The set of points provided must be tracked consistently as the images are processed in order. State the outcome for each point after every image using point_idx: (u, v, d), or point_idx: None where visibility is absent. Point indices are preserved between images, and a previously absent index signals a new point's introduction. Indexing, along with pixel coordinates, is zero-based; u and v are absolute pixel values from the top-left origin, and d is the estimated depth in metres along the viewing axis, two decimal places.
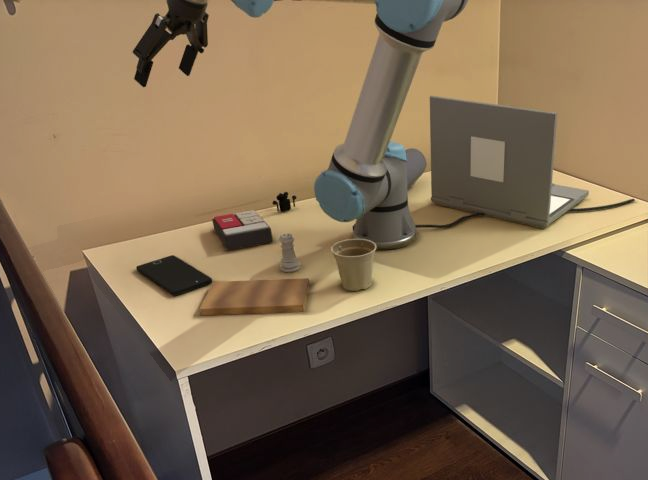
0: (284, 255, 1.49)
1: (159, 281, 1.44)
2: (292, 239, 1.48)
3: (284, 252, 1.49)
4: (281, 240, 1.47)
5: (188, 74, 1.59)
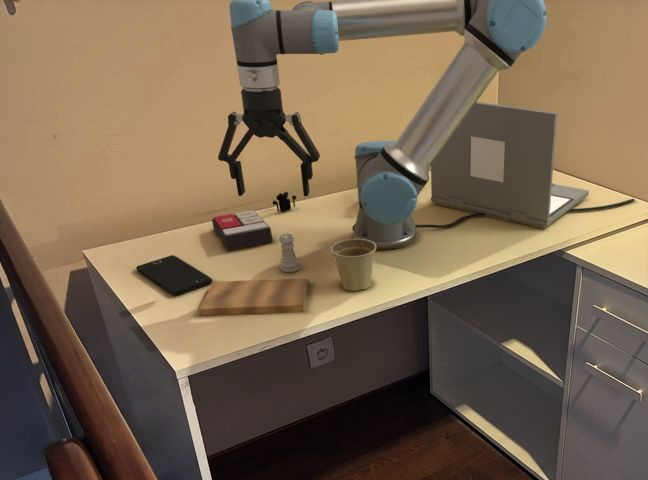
0: (284, 255, 1.49)
1: (159, 281, 1.44)
2: (292, 239, 1.48)
3: (284, 252, 1.49)
4: (281, 240, 1.47)
5: None
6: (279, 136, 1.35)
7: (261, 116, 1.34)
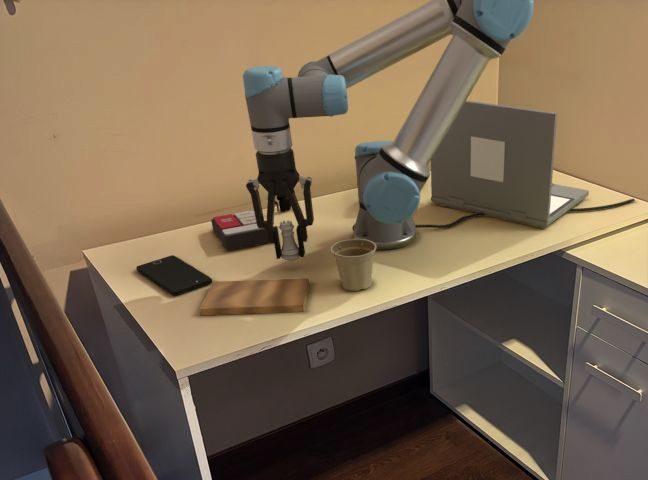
0: (284, 243, 1.48)
1: (159, 281, 1.44)
2: (292, 226, 1.46)
3: (284, 239, 1.47)
4: (281, 227, 1.46)
5: None
6: (288, 196, 1.41)
7: (276, 176, 1.40)
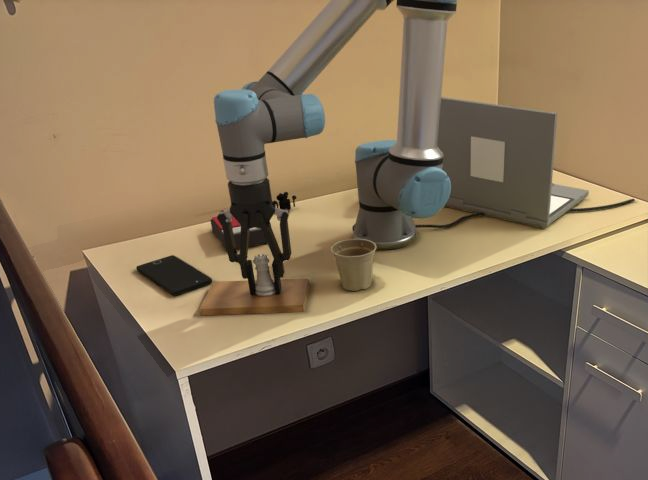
0: (258, 278, 1.36)
1: (159, 281, 1.44)
2: (267, 260, 1.35)
3: (259, 274, 1.36)
4: (255, 261, 1.34)
5: None
6: (263, 229, 1.30)
7: (250, 208, 1.28)
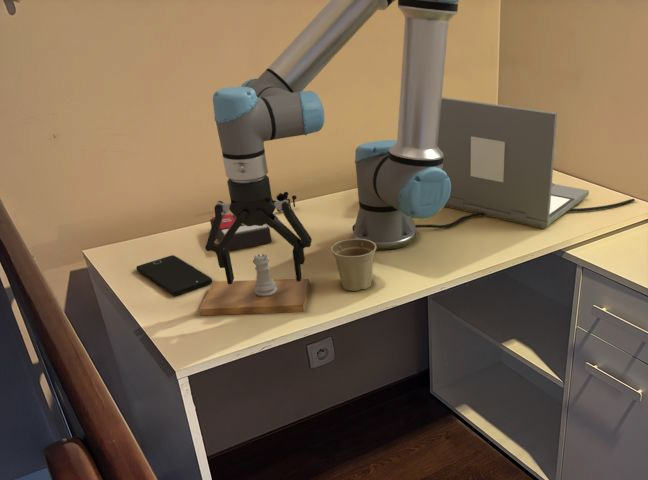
0: (258, 278, 1.36)
1: (159, 281, 1.44)
2: (267, 260, 1.35)
3: (258, 274, 1.36)
4: (255, 261, 1.34)
5: None
6: (269, 224, 1.30)
7: (249, 205, 1.28)
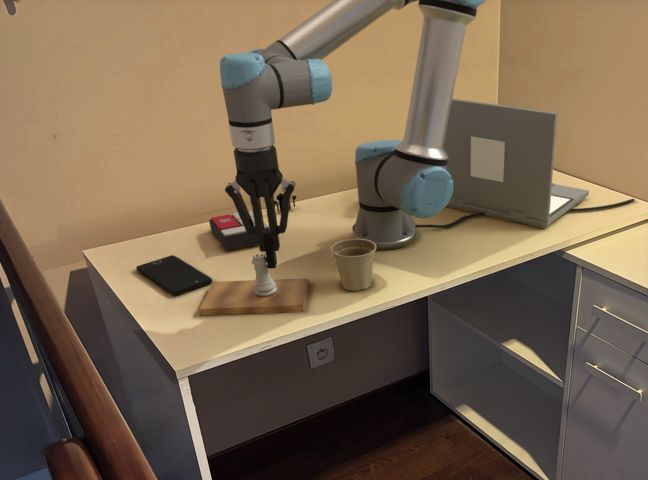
0: (258, 278, 1.36)
1: (159, 281, 1.44)
2: (266, 260, 1.35)
3: (258, 274, 1.36)
4: (253, 261, 1.34)
5: None
6: (266, 199, 1.27)
7: (256, 176, 1.25)
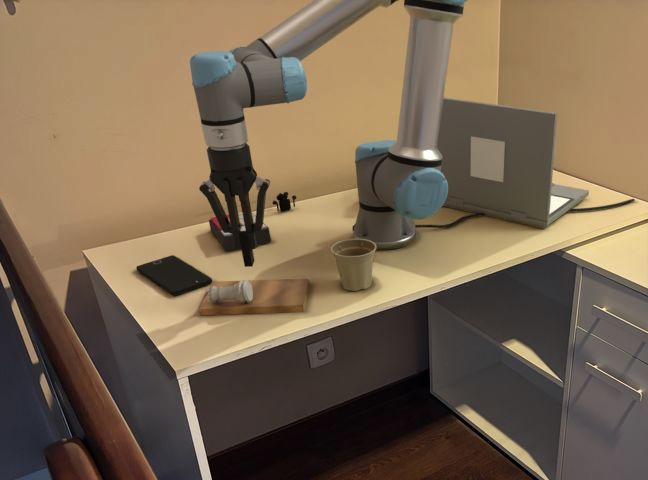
0: None
1: (159, 281, 1.44)
2: (212, 299, 1.34)
3: None
4: None
5: None
6: (240, 197, 1.27)
7: (230, 175, 1.25)
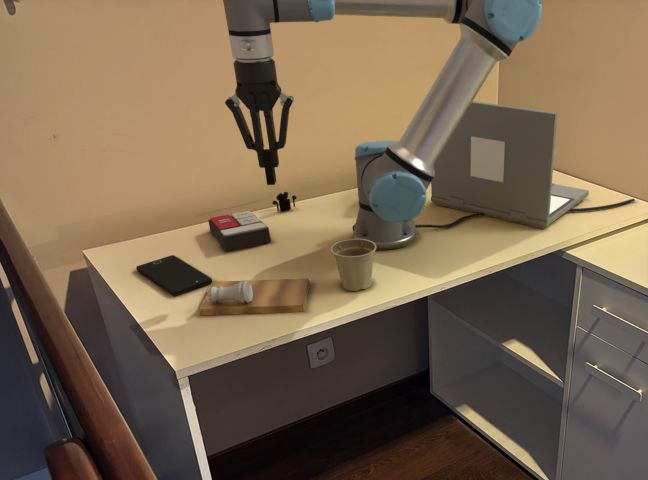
0: None
1: (159, 281, 1.44)
2: (212, 300, 1.34)
3: None
4: None
5: None
6: (265, 112, 1.30)
7: (255, 89, 1.28)
